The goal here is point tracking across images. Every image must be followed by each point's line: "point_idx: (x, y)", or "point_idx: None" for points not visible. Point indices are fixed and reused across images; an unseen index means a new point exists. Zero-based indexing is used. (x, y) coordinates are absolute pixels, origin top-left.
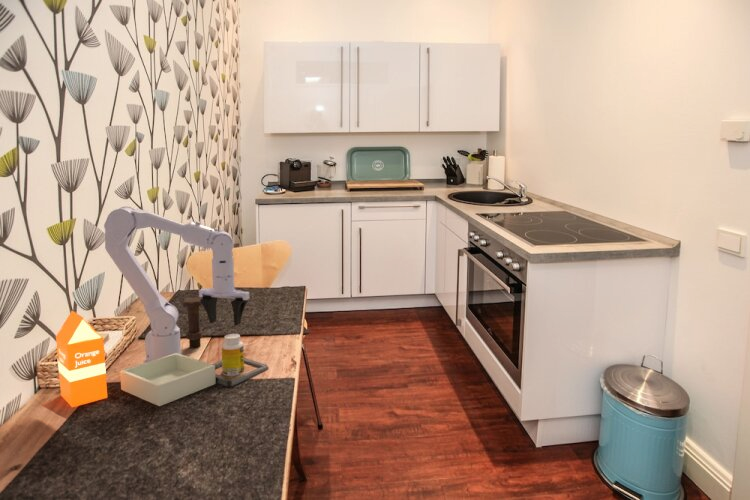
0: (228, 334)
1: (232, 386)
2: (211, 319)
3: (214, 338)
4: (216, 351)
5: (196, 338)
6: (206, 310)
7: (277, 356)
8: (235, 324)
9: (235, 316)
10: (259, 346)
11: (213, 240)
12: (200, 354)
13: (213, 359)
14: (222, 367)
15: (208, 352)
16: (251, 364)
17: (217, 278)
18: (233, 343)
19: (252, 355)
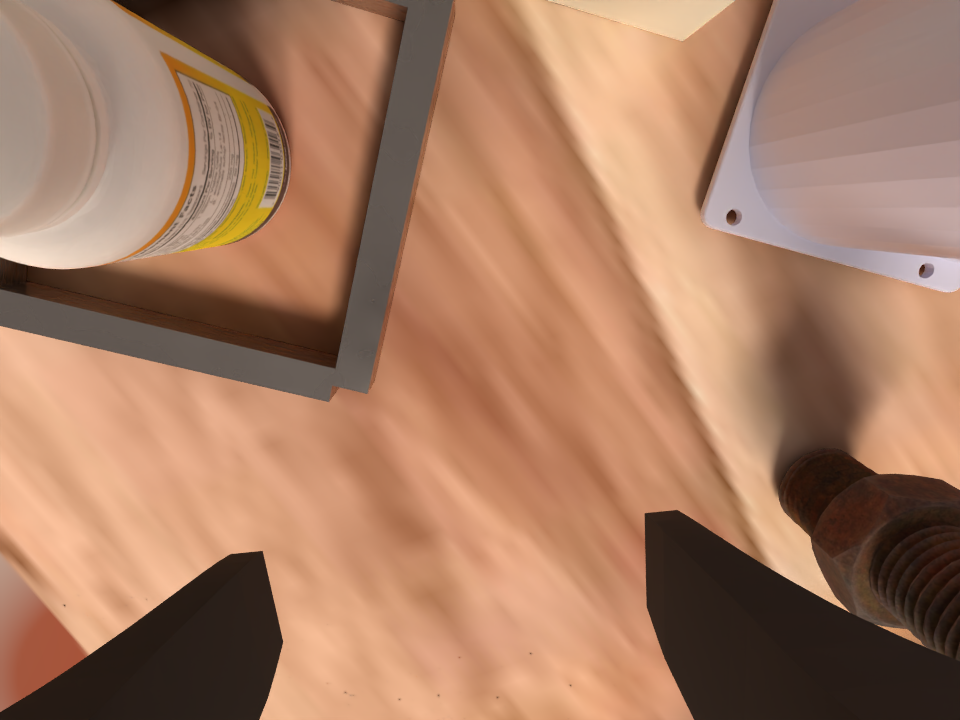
0: (32, 151)
1: None
2: (666, 540)
3: None
4: (630, 498)
5: (839, 502)
6: (840, 618)
7: (154, 569)
8: (236, 555)
9: (137, 640)
10: (399, 679)
11: None
12: (709, 405)
13: (550, 354)
14: (231, 71)
15: (675, 461)
16: (151, 320)
17: None
18: None
19: (330, 524)
